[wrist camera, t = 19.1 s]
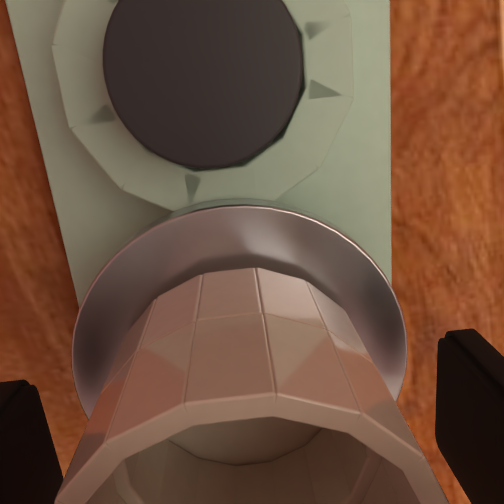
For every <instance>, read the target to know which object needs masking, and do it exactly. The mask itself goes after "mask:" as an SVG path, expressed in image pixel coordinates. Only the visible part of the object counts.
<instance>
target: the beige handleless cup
mask: <svg viewBox="0 0 504 504" xmlns="http://www.w3.org/2000/svg"><path fill="white" fill-rule="evenodd" d="M54 504H449V502H448V500H447V498H446V496H445V494H444V492H443V490H442V488H441V486H440V484H439V482H438V480H437V479H436V477H435V475H434V473H433V471H432V469H431V467H430V465H429V463H428V461H427V459H426V457H425V456H424V454H423V452H422V450H421V448H420V446H419V445H418V443H417V441H416V439H415V437H414V435H413V434H412V432H411V430H410V428H409V426H408V424H407V423H406V421H405V419H404V417H403V415H402V413H401V412H400V410H399V408H398V406H397V404H396V402H395V401H394V399H393V397H392V395H391V393H390V391H389V390H388V388H387V386H386V384H385V382H384V380H383V379H382V377H381V375H380V373H379V371H378V369H377V368H376V366H375V364H374V362H373V360H372V358H371V357H370V355H369V353H368V351H367V349H366V347H365V346H364V344H363V342H362V340H361V338H360V336H359V335H358V333H357V331H356V329H355V327H354V325H353V324H352V322H351V320H350V318H349V316H348V314H347V313H346V312H345V311H344V309H343V308H342V307H340V306H339V305H338V304H336V303H335V302H334V301H333V300H331V299H330V298H329V297H327V296H326V295H325V294H323V293H322V292H321V291H319V290H318V289H317V288H316V287H314V286H313V285H312V284H310V283H309V282H307V281H305V280H303V279H299V278H295V277H292V276H288V275H284V274H280V273H276V272H273V271H269V270H265V269H261V268H256V269H255V268H246V269H237V270H228V271H219V272H210V273H205V274H203V275H198V276H196V277H194V278H192V279H190V280H188V281H187V282H185V283H183V284H181V285H179V286H177V287H175V288H173V289H171V290H170V291H168V292H166V293H164V294H162V295H160V296H158V297H157V299H154V300H153V301H152V303H151V304H150V305H149V306H148V308H147V309H146V310H145V311H144V312H143V314H142V315H141V316H140V317H139V319H138V320H137V321H136V322H135V324H134V325H133V326H132V327H131V328H130V330H129V331H128V332H127V333H126V336H125V337H124V339H123V342H122V344H121V346H120V349H119V351H118V353H117V356H116V358H115V360H114V363H113V365H112V367H111V370H110V372H109V375H108V377H107V379H106V382H105V384H104V386H103V389H102V391H101V393H100V396H99V399H98V400H97V402H96V405H95V407H94V409H93V412H92V414H91V416H90V419H89V421H88V423H87V426H86V428H85V431H84V433H83V435H82V438H81V440H80V442H79V445H78V447H77V449H76V452H75V454H74V456H73V459H72V461H71V463H70V466H69V468H68V470H67V473H66V475H65V477H64V480H63V482H62V484H61V487H60V489H59V491H58V494H57V496H56V498H55V501H54Z"/></svg>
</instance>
